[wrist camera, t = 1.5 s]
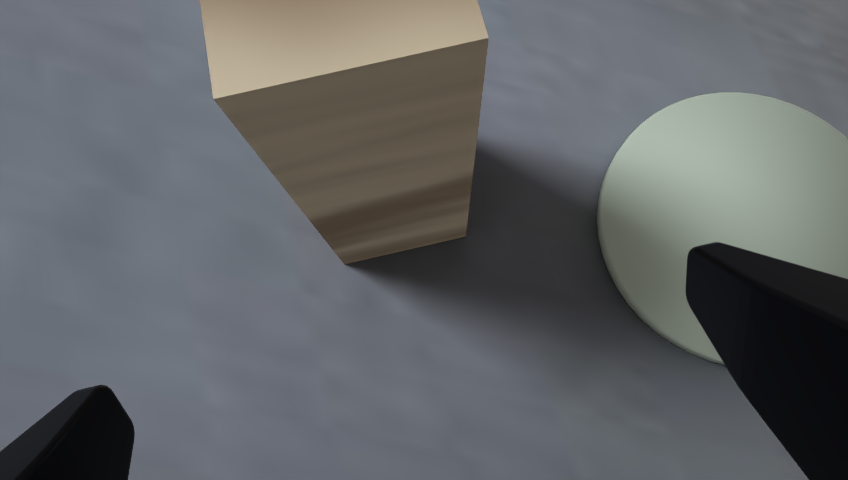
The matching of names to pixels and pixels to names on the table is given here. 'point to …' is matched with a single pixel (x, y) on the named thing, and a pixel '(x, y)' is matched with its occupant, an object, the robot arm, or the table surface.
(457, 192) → the maple block
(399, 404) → the table surface
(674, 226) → the sage mat
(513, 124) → the table surface
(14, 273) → the table surface
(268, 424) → the table surface
